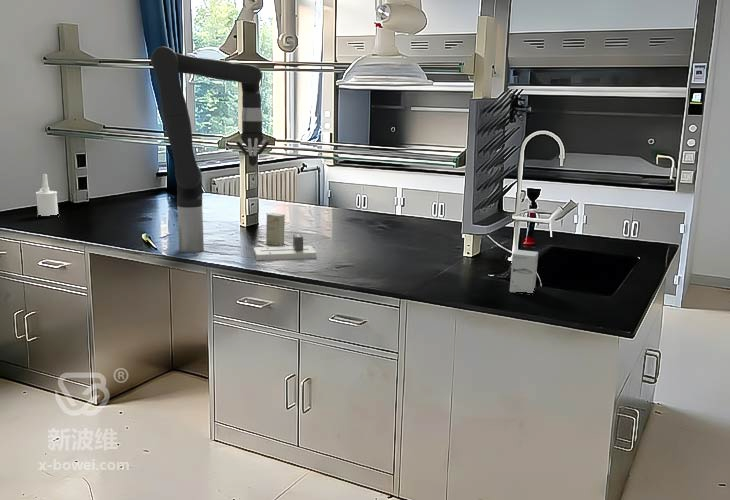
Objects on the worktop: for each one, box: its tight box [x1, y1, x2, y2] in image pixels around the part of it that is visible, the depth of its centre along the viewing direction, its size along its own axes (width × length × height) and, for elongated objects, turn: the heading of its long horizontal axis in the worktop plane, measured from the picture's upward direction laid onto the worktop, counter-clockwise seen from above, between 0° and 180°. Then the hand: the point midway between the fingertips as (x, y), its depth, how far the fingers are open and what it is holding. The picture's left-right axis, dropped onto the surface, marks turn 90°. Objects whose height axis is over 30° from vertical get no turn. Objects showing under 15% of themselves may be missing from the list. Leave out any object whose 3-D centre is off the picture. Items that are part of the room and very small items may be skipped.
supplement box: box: [509, 249, 539, 294], centre depth 221 cm, size 7×7×13 cm
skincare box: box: [265, 212, 286, 247], centre depth 280 cm, size 6×4×12 cm
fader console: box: [253, 245, 317, 261], centre depth 263 cm, size 22×12×2 cm, turn 104°
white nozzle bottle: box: [35, 173, 59, 216], centre depth 327 cm, size 10×9×20 cm
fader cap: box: [292, 233, 304, 250], centre depth 263 cm, size 3×5×5 cm, turn 14°
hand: (252, 165), depth 269 cm, fingers closed
